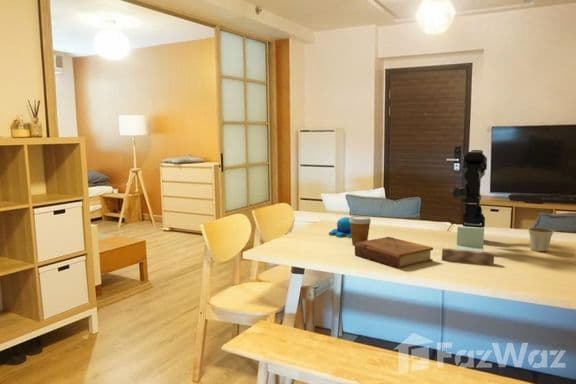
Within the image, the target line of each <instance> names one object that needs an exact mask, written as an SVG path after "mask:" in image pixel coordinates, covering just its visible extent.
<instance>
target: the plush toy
mask: <svg viewBox="0 0 576 384" xmlns="http://www.w3.org/2000/svg"><path fill="white" fill-rule="evenodd" d="M350 217H351V216H350ZM350 217H349V216H348V217H346V216H345V217H341V218H339V219H338V220H337V222H336V228H334V229H332V230H331V231H329V232H328V235H330V236H335V237H336V238H344V237H346V238H347V237H348V239H352V237H351V228H350V222H349V220H350Z"/></svg>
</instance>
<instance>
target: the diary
mask: <svg viewBox="0 0 576 384" xmlns="http://www.w3.org/2000/svg"><path fill="white" fill-rule="evenodd" d="M431 251H434V247H432V246H430V245H429V246H427V245H425V244H420V243H415V242H413V241H412V242H411V241H407V240H402V239H399V238H394V237H391V236H385V237H380V238H375V239H369V240H368V241H362V242H356V244H355V246H354V255H355V256H357V257H360V258H363V259H367V260H371V261H374V262H377V263H380V264H384V265H386V266H390V267H392V268H396V269H403V268H408V267H411V266H416V265H420V264H421V265H422V264H425V263H429V262H433V261H434V259H431Z"/></svg>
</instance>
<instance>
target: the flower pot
mask: <svg viewBox="0 0 576 384" xmlns="http://www.w3.org/2000/svg"><path fill="white" fill-rule="evenodd" d="M527 231H528V234H529V243H530V250H531V249H532V250H531V251H533V250H534V252H538V251H543V252H544V251H547V252H548V251H549V247H550V244H551V239H552V236H553V234H554V233H555V231H554V230H553V229H549V228H545V227H544V228H543V227H529V228H527Z"/></svg>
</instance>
